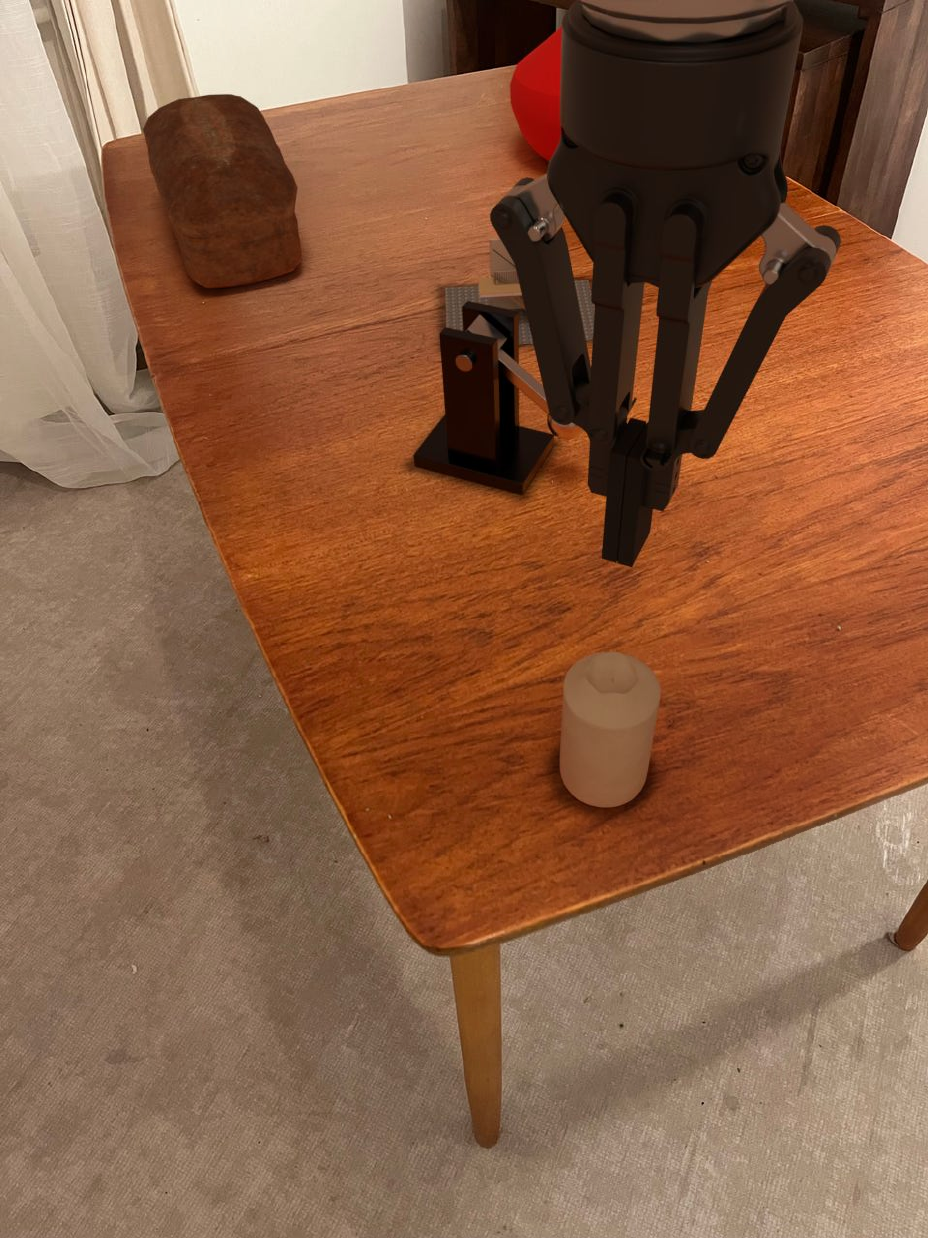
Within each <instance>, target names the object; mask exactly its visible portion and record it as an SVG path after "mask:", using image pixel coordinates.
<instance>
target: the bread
mask: <svg viewBox="0 0 928 1238" xmlns="http://www.w3.org/2000/svg"><path fill="white" fill-rule="evenodd" d="M266 121H267V120H266V119H265V117H264V115H263V114H262V112H261V110H260V109H259V107H258V106H256V105H255V104H253V103H252V102H250V101H248V100H247V99H246V98H244V97H242V96H241V95H235V94H232V93H219V94H216V93H215V94H205V95H199V96H193V97H192V96H191V97H185V98H183V97H182V98H177V99H176V100H173V101H171V102H169V103H167V104H164V105H163V106H162V105H161V106H160V107H158V108H157V109H156V110H155V111H154V112H153V113H152V114H150V115H149V116H148V117H147V119H146V121H145V123H144V126H143V128H142V131H143V135H144V140H145V144H146V146H147V156H148V163H149V168H150V171H151V174H152V177H153V179H154V181H155V185H156V188H157V191H158V193H159V196H160V198H161V200H162V208H163V211H164V214H165V216H166V217H167V218H168V220H169V222H170V225H171V228H172V231H173V234H174V237H175V240H176V241H177V243H178V247H179V250H180V254H181V257H182V261H183V265H184V268H185V270H186V272H187V275H188V276H189V277H190V279H191V280H192V281H193V282H195V283H197V284H199V285H200V286H202V287H203V288H205V289H223V288H231V287H239V286H245V285H250V284H256V283H260V282H263V281H267V280H270V279H271V280H272V279H274V278H277V277H281V276H284V275H286V274H289V273H291V272H293V271H294V270H295V269H296V268H297V266H298V265H299V264H300V263H301V262H302V261H303V256H302V255H303V254H302V245H301V239H300V234H299V226H298V225H299V224H298V218H297V215H296V211H295V210H296V203H297V195H298V185H297V182H296V180H295V178H294V175H293V173H292V172H291V170H290V168H289V167H288V166H287V163H286V162H285V159H284V156H283V154H282V151H281V148H280V147H279V145H278V144H277V142H276V139H275V137H274V134H273V131H272V129H271V128H270V126H269V125H268V123H267V122H266Z"/></svg>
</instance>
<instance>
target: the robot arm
mask: <svg viewBox="0 0 928 1238" xmlns="http://www.w3.org/2000/svg"><path fill="white" fill-rule="evenodd" d="M561 26H562V40H561V82H560V124H561V137H560V141H559V144H558V146H557V149H556V151H555V152H554V154H553V156H552V157H551V159H550V162H548V165H547V170H546V173H545V174H542V175H540V176H539V177H537V178H536V179H534V178H532V177H528V176H527V177H523V178H521V179H519V180H518V181H517V182H516V184H515V185H513V186H512V187H511V189H509V190H508V191H507V193H506V194H505V195H504V196H503V197H502V198H501V199H500V200H499V201H498V202H497V203H496V204H495V205H494V206H493V208H491V210H490V213H489V219H490V223H491V226H492V227H493V229H494V231H495V233H496V234H497V237H498V239H500V240H501V241H502V243H503V245H504V246H505V248H506V250H507V252H508V253H509V255H510V257H511V258H512V260H513V262H514V264H515V267H516V272H517V276H518V280H519V285H520V289H521V293H522V298H523V302H524V306H525V310H526V315H527V319H528V323H529V328H530V332H531V336H532V341H533V344H532V345H533V349H534V354H535V357H536V361H537V366H538V370H539V375H540V379H541V384H542V385H543V388H544V392H545V397H546V401H547V405H548V410H549V414H550V416H551V418H552V419H553V420H554V421H555V422H557V423H558V424H561V425H569V424H570V423H573V424H575V425H577V426H579V427H580V428H582V429H583V430H584V431H583V432H584V433H586V436H587V438H588V441H589V449H588V450H589V451H588V469H587V473H588V474H587V486H588V488H589V491H590V493H591V494H593V495H594V494H595V495H598V496H602V497H604V498H605V497H606V498H605V509H604V522H603V535H602V547H601V559H602V560H605V561H608V562H612V563H615V564H616V563H617V564H619V565H622V566H625V567H629V568H633V566H635V565H634V564H635V563H636V561H637V559H638V557H639V555H640V553H641V552H642V549H643V547H644V545H645V543H646V542H647V539H648V537H649V536H650V533H651V528H652V521H653V514H654V510H655V511H660V512H664V511H665V510H666V508H667V507H668V506H669V504H670V502H671V500H672V498H673V497H674V494H675V492H676V490H677V488H678V486H679V481H680V480H679V479H680V474H681V467H682V460H683V455H686V454H692V455H693V456H694V457H696V458H698V459H701V460H708V459H711V458H714V456H715V455H716V454H717V452H718V450H719V448H720V446H721V444H722V442H723V440H724V439H725V436H726V435H727V433H728V431H729V428H730V426H731V425H732V423H733V421H734V419H735V417H736V415H737V413H738V411H739V409H740V407H741V405H742V403H743V401H744V400H745V397H746V395H747V393H748V392H749V389H750V387H751V385H752V384H753V382H754V379H755V377H756V375H757V374H758V372H759V370H760V368H761V366H762V364H763V363H764V360H765V359H766V356H767V354H768V353H769V351H770V348H771V347H772V345H773V343H774V341H775V338H776V337H777V335H778V333H779V331H780V329H781V328H782V325H783V323H784V321H785V319H786V317H787V316H788V315H789V314H790V313H791V312H793V311H794V310H795V309H796V308H797V307H798V306H800V305H801V304H802V303H803V302H804V301H805V300H806V299H807V298H808V297H809V296H810V295H812V293H814V292H815V291H816V290H817V289H818V288H820V286H822V284H823V283H824V282H825V280H826V278H827V276H828V274H829V272H830V270H831V267H832V265H833V263H834V260H835V258H836V256H837V254H838V252H839V249H840V247H841V243H842V237H841V234H840V232H839V231H838V230H837V229H836V228H834V227H833V226H831V225H826V224H823V225H818V226H815V227H813V226H812V225H810V223H808V222H807V221H806V220H805V219H804V218H803V217H801V215H800V214H798V213H797V212H796V211H795V210H794V209H793V208H792V207H791V206H790V205H789V204H787V203H786V201H787V198H788V191H789V185H788V180H787V179H788V178H787V175H786V174H785V170H784V167H783V164H782V156H781V153H782V151H781V148H782V140H783V135H784V130H785V124H786V119H787V113H788V110H789V109H788V108H789V103H790V98H791V93H792V92H791V91H792V86H793V82H794V78H795V77H794V76H795V72H796V65H797V60H798V56H799V55H798V54H799V49H800V44H801V39H802V34H803V28H804V18H803V15H802V14H801V12H800V11H799V8H798V7H797V4H796V3H795V0H574V2H573V3H572V4H571V5H570V6H569V9H568V10H567V12H565V14H564V16H563V17H562V21H561ZM565 218H566V220H567V222H568V223H569V225H570V227H571V228H572V230H573V232H574V233H575V235H576V237H577V238H578V240H579V242H580V244H581V246H582V247H583V249H584V251H585V252H586V254H587V255H588V256H589V258H590V261H592V277H591V278H592V279H591V301H592V303H593V304H594V307H595V313H594V329H593V340H592V347H591V359H590V354H589V350H588V344H587V343H588V342H587V341H586V338H585V333H584V328H583V322H582V317H581V312H580V307H579V302H578V297H577V291H576V286H575V281H576V280H575V277H574V270H573V267H572V266H573V265H572V260H571V255H570V251H569V245H568V241H567V238H566V234H565V231H564V229H563V225H564V223H565ZM760 237H761V239H762V240H763V243H764V247H765V249H764V253H763V255H762V257H761V259H760V260H759V264H758V272H759V274H760V276H761V277H762V281H763V282H764V286H763V288H762V290H761V292H760V293H759V295H758V297H757V299H756V301H755V303H754V305H753V306H752V309H751V311H750V312H749V314H748V316H747V319H746V321H745V322H744V325H743V327H742V329H741V331H740V333H739V335H738V338H737V339H736V341H735V344H734V345H733V348H732V350H731V352H730V354H729V357H728V358H727V361H726V363H725V365H724V367H723V369H722V371H721V372H720V375H719V377H718V380H717V382H716V384H715V386H714V388H713V390H712V392H711V394H710V396H709V398H708V400H707V402H706V404H705V407H704V409H698V410H696V409H695V410H692V409H693V401H694V394H695V388H696V382H697V374H698V368H699V359H700V352H701V346H702V340H703V333H704V327H705V326H704V325H705V318H706V311H707V303H708V298H709V297H708V296H709V292H710V288H711V286H712V283H713V281H714V280H715V279H716V278H717V277H718V276H719V275H721V273H722V272H724V270H726V269H727V268H728V267H729V266H730V265H731V264H732V263H734V262H735V260H736V259H738V257H740V256H741V255H742V254H743V253H744V252H745V251H746V250H747V249H748V248H749V247H751V246H752V245H753V244H754V243H755V242H756V241H757V240H758V239H759V238H760ZM645 283H647V284H649V285H651V286H653V287H656V288H658V290H657V300H656V313H655V314H656V315H655V316H656V317H658V326H657V334H656V344H655V353H654V363H653V372H652V381H651V382H652V383H651V390H650V392H651V394H650V401H649V411H648V420H647V421H646V420H643V419H639V418H635V417H630V418H629V419H628V417H629V414H630V412H631V411H632V409H634V406H635V404H636V403H637V400H638V398H637V397H634V387H635V378H636V368H637V359H638V352H639V351H638V349H639V340H640V330H641V320H642V311H643V300H644V293H645V291H644V290H645Z"/></svg>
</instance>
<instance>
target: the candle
mask: <svg viewBox="0 0 928 1238" xmlns="http://www.w3.org/2000/svg"><path fill="white" fill-rule="evenodd" d="M661 696H662V690H661V685H660V681H659V679H658V677H657V675H656V673H655V672H654V671H653V670H652V668H651V667H650V666H649V665H647V663H645V662H644V661H642V660H641V659H638V658H637V657H635V656H633V655H630V654H626V653H623V652H618V651H600V652H595V653H591V654H589V655H586V656H584V657H582V658H581V659H579V660H577V661H576V662H575V663H574V664H573V665H572V666H570V668H569V669H568V671H567V673H566V674H565V676H564V680H563V687H562V705H561V723H560V725H561V726H560V745H559V746H560V747H559V773H560V777H561V780H562V783H563V785H564V787H565V788H566V789H567V791H568V792H569V793H570V795H572V796H573V797H574V798H576V799H577V800H578V801H580V802H581V803H584V804H586V805H589V806H592V807H596V808H614V807H620V806H622V805H625V804H627V803H629V802H630V801H632V800H633V799H635V798H636V797H637V796H638V795H639V794H640V792H641V791H642V789H643V787H644V785H645V784H646V780H647V776H648V771H649V767H650V766H649V765H650V761H651V755H652V748H653V744H654V737H655V732H656V726H657V721H658V713H659V708H660V702H661Z"/></svg>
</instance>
